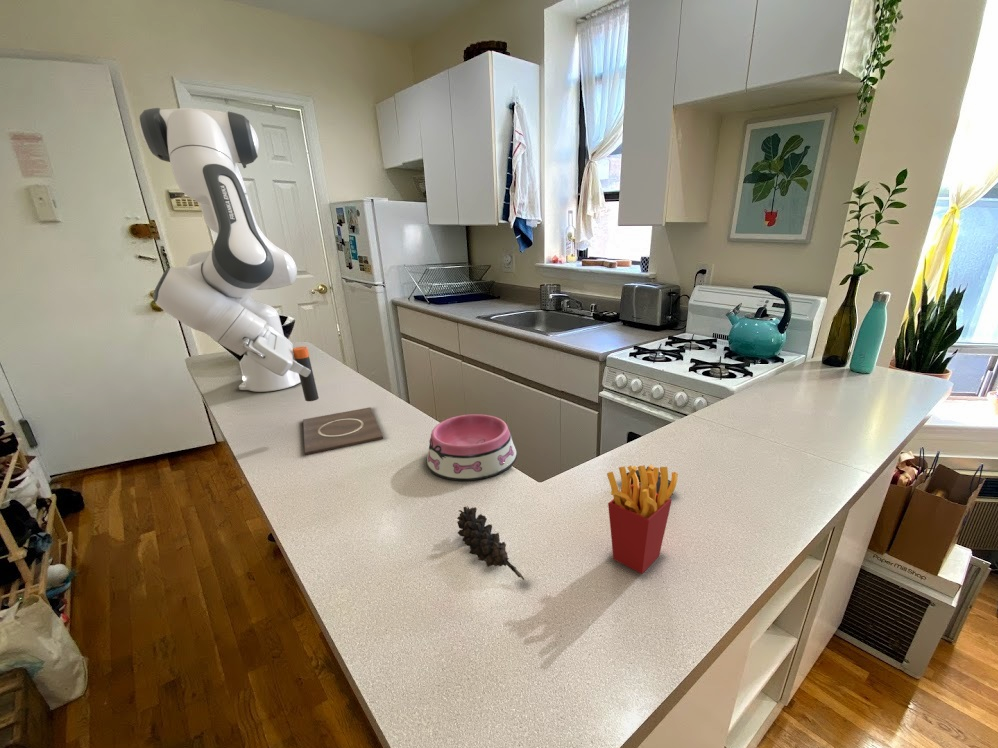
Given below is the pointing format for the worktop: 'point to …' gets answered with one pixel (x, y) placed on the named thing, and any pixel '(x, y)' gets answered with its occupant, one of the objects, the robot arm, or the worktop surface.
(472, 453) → the dog bowl
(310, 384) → the marker
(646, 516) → the french fries
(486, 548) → the pine cone
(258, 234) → the robot arm
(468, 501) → the worktop surface
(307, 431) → the drawing board
